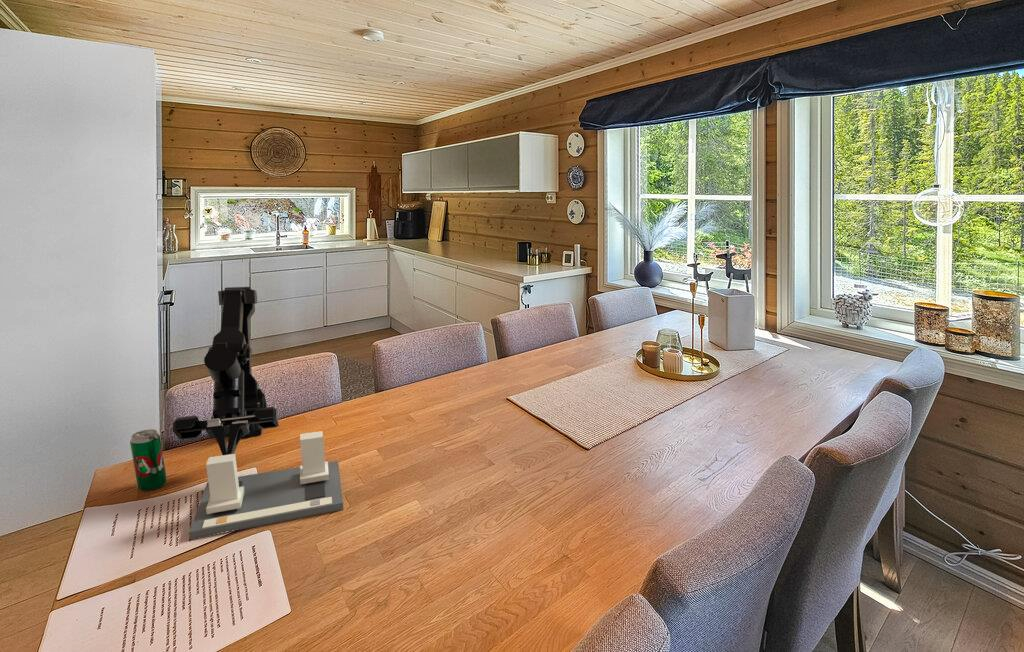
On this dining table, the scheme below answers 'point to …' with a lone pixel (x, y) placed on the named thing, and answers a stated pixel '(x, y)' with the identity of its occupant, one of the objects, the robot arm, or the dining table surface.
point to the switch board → (271, 501)
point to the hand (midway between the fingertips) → (227, 462)
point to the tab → (313, 458)
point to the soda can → (148, 460)
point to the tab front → (223, 484)
